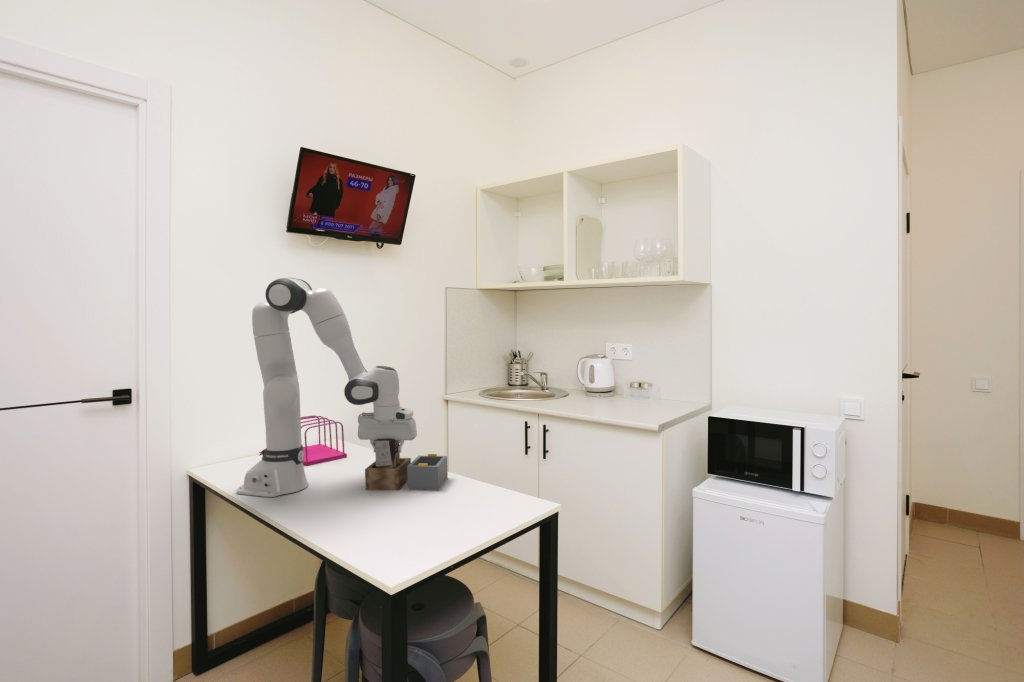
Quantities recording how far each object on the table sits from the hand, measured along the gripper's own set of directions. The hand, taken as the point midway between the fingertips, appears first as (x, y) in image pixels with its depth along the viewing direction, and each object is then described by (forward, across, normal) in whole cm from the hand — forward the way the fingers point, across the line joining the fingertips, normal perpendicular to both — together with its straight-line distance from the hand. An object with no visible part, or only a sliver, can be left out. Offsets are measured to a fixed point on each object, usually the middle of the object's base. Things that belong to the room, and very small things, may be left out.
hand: (387, 452), depth 184 cm
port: (+11, +14, 0) cm, 18 cm away
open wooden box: (+11, 0, 0) cm, 11 cm away
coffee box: (+11, 0, 0) cm, 11 cm away
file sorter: (+12, -44, +34) cm, 56 cm away
